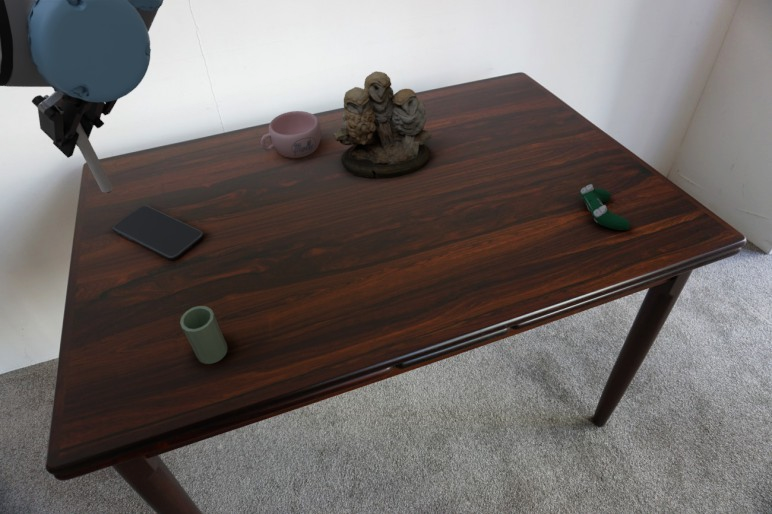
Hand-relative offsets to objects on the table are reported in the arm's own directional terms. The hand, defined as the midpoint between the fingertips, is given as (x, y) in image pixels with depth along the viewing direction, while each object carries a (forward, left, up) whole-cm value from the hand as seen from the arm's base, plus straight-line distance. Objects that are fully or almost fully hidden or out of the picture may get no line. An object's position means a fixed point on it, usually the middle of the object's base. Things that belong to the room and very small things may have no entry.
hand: (69, 145), depth 74 cm
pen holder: (+6, -31, -18) cm, 36 cm away
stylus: (+2, -3, -7) cm, 8 cm away
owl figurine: (+48, -6, -18) cm, 51 cm away
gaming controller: (+69, -40, -18) cm, 82 cm away
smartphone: (+6, -3, -18) cm, 19 cm away
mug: (+35, +7, -18) cm, 40 cm away
